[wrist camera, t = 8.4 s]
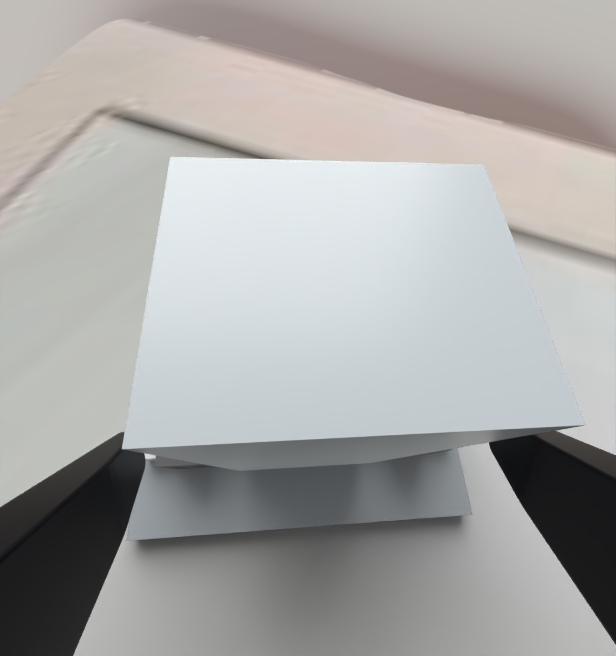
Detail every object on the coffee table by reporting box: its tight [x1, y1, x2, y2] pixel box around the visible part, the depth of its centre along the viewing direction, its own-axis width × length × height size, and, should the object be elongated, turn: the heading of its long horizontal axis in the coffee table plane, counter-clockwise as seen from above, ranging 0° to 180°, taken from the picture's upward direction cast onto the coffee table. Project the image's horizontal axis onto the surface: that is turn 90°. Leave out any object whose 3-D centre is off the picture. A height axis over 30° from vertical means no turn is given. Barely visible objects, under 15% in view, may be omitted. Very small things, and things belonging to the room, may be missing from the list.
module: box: [122, 157, 586, 471], centre depth 11 cm, size 6×6×12 cm
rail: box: [126, 448, 472, 541], centre depth 16 cm, size 16×10×4 cm, turn 93°
